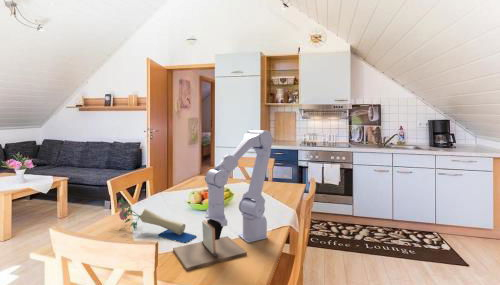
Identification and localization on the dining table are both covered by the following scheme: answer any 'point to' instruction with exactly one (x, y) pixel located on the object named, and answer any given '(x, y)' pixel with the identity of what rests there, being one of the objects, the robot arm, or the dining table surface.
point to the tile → (209, 236)
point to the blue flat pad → (177, 236)
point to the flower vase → (151, 219)
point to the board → (208, 253)
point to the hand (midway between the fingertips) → (216, 239)
